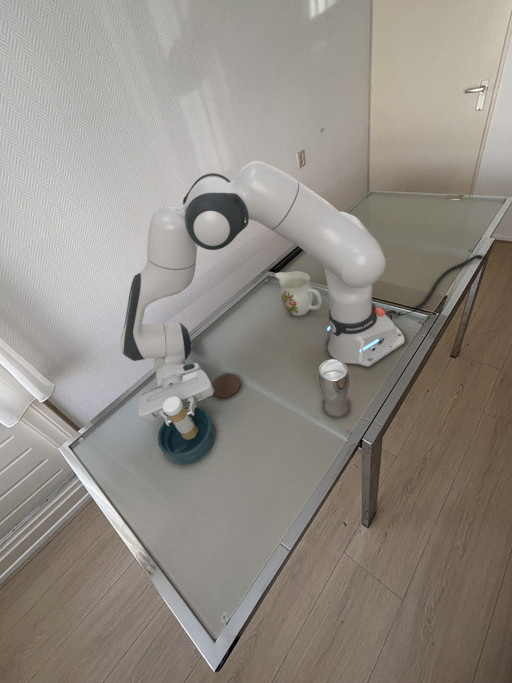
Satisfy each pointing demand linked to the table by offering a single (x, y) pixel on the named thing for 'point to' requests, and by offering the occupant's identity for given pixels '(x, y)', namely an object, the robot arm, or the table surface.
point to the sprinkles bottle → (180, 417)
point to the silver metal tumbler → (334, 386)
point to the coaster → (226, 386)
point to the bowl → (192, 448)
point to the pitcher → (297, 292)
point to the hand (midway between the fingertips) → (180, 419)
